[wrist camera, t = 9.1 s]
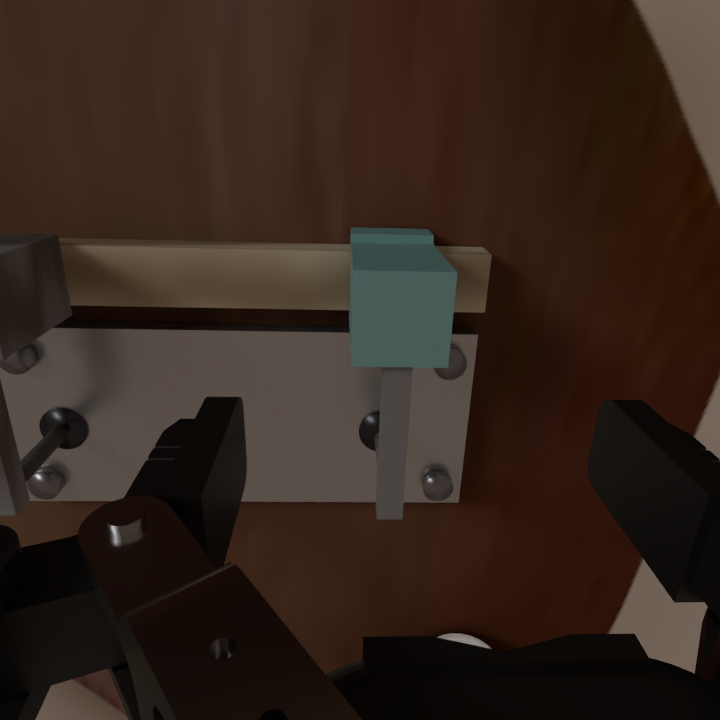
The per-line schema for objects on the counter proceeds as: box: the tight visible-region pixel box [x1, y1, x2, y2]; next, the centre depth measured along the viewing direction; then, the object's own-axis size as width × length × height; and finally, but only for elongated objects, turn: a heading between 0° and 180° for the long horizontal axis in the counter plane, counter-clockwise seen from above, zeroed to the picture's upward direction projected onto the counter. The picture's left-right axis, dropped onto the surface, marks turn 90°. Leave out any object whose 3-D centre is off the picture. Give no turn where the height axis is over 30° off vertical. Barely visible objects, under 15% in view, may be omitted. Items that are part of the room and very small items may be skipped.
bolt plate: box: [0, 321, 478, 502], centre depth 31 cm, size 11×26×2 cm, turn 88°
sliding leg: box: [349, 227, 457, 519], centre depth 27 cm, size 12×4×8 cm, turn 178°
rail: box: [0, 234, 492, 515], centre depth 27 cm, size 12×28×8 cm, turn 88°
